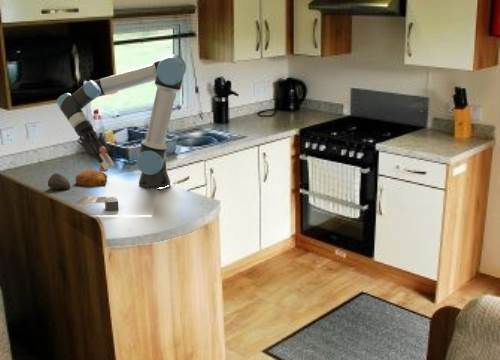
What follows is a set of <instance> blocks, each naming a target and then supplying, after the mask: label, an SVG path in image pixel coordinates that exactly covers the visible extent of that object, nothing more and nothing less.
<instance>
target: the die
mask: <svg viewBox="0 0 500 360" xmlns="http://www.w3.org/2000/svg"><path fill="white" fill-rule="evenodd" d="M104 208H105V211H106V212H115V211H119V200H118V198H117V197H116V198H109V199H105V203H104Z"/></svg>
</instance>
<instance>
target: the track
mask: <svg viewBox="0 0 500 360" xmlns="http://www.w3.org/2000/svg"><path fill="white" fill-rule="evenodd" d="M109 198H117V197H116V196H79V198H78V199H77V201H76V203H79V204H81V203H83V204H85V203H86V204H88V203H89V204H91V203H99V204H100V203H104V204H105V199H109Z"/></svg>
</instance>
